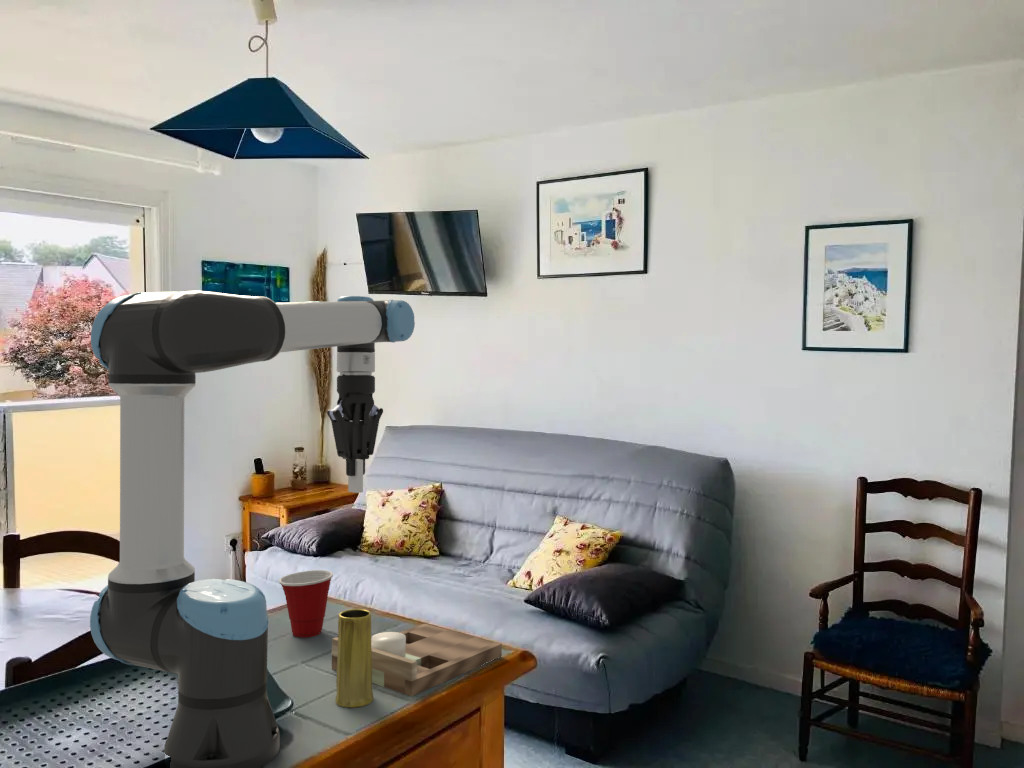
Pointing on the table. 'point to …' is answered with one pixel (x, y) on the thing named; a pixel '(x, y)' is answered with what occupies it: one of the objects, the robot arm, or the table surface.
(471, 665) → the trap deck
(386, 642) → the white rounded block
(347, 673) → the vase
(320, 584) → the plastic cup
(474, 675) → the table surface
